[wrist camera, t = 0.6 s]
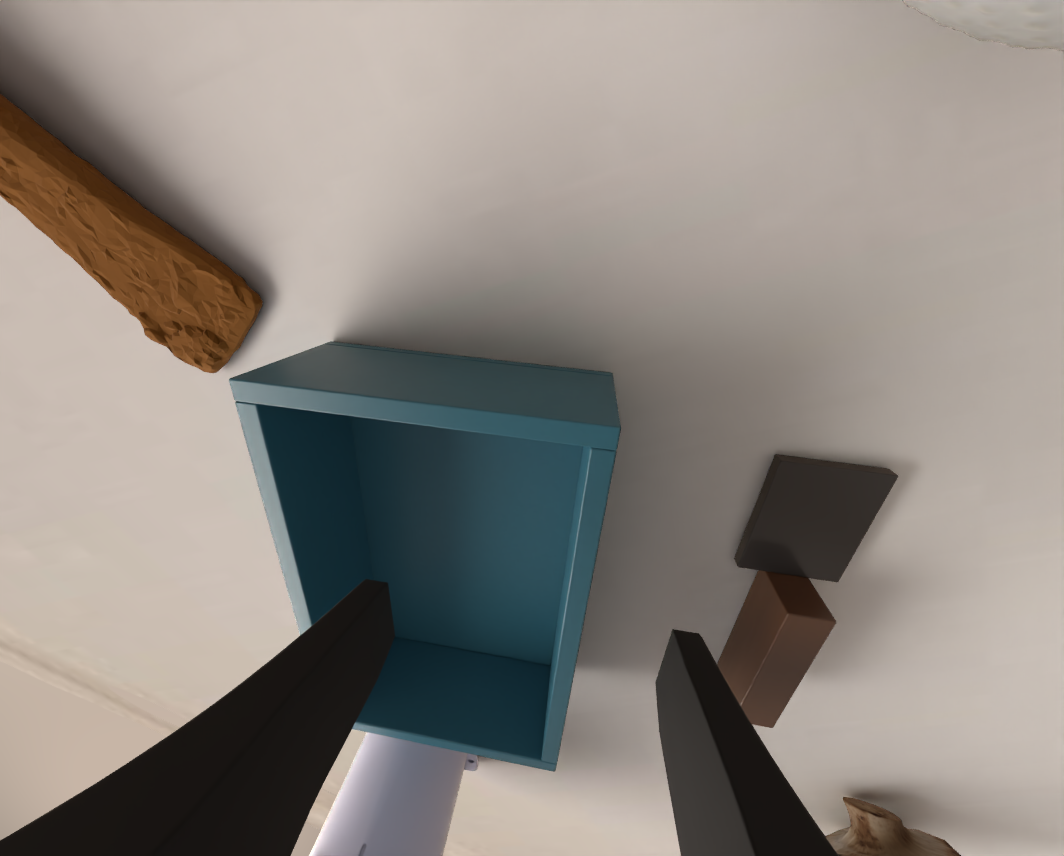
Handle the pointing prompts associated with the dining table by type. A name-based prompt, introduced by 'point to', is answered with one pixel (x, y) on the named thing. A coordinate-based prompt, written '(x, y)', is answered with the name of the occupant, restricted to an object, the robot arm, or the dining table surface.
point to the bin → (442, 526)
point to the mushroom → (883, 835)
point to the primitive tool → (125, 246)
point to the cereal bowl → (1001, 20)
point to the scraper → (795, 574)
